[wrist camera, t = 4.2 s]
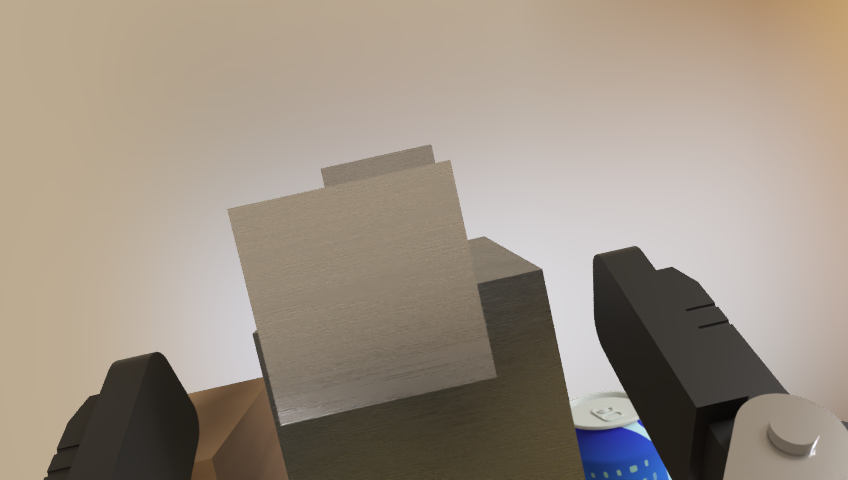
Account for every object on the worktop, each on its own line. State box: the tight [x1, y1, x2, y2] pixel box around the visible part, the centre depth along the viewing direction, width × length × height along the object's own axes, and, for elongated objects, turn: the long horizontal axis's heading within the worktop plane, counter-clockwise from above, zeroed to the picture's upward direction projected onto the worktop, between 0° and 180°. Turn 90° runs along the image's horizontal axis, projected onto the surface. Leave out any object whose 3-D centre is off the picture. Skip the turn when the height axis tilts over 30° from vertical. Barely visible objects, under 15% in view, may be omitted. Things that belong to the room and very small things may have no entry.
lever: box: [228, 145, 497, 426], centre depth 21 cm, size 5×23×5 cm, turn 1°
